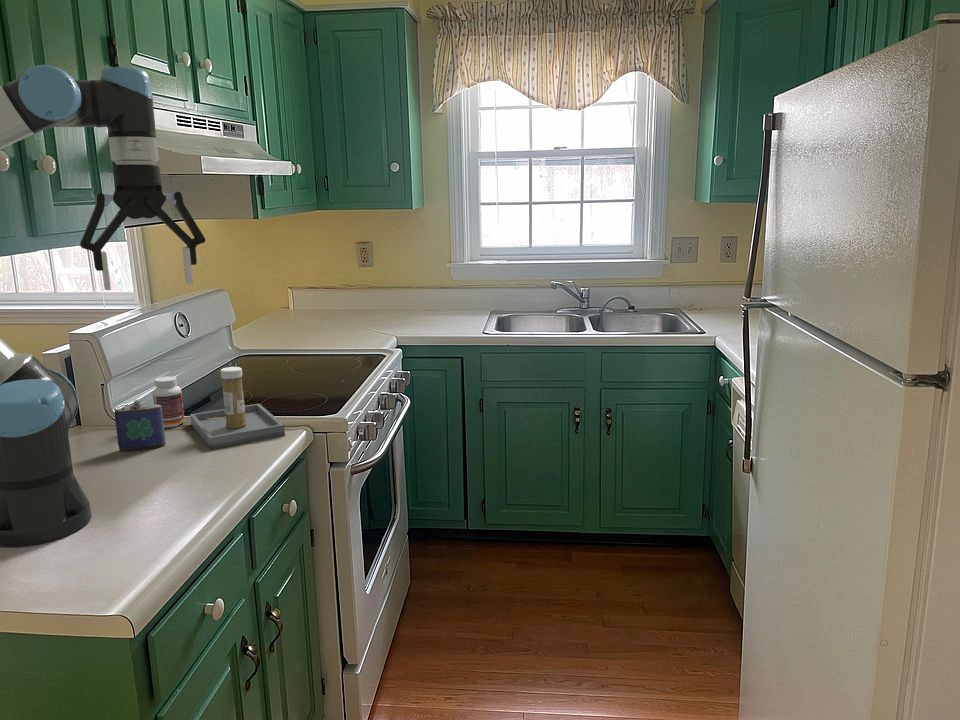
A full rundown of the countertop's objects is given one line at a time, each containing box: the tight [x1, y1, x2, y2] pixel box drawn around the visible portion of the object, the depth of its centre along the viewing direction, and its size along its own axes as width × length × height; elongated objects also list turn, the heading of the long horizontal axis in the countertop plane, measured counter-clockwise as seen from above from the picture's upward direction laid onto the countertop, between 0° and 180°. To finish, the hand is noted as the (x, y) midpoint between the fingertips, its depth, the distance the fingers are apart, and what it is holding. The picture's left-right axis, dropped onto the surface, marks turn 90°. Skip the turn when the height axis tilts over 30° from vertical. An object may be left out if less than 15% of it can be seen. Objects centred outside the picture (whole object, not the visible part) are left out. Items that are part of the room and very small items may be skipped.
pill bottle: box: [152, 375, 185, 429], centre depth 176 cm, size 6×6×11 cm
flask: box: [114, 398, 167, 453], centre depth 160 cm, size 9×3×11 cm, turn 112°
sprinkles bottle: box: [220, 366, 247, 429], centre depth 170 cm, size 5×5×13 cm
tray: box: [189, 403, 286, 450], centre depth 172 cm, size 16×20×2 cm
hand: (149, 286), depth 136 cm, fingers open, 13 cm apart
